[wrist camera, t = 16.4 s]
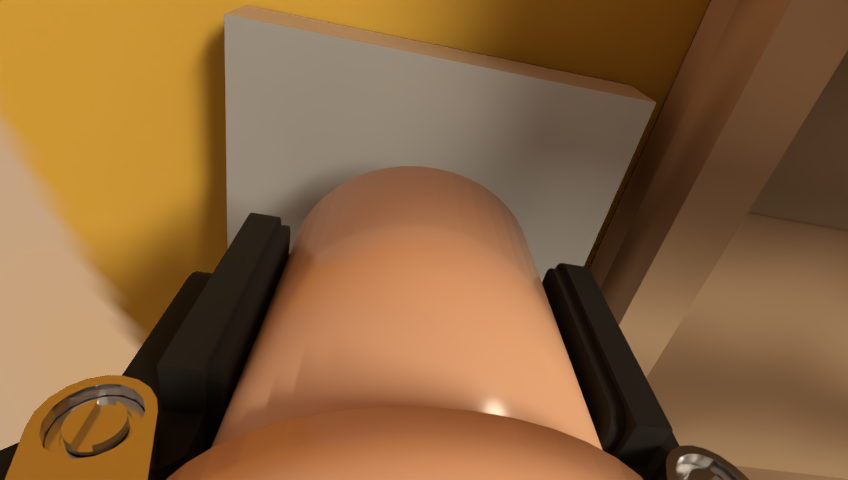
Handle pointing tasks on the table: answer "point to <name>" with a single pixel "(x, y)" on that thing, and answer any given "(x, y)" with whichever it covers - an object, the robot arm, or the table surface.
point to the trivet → (419, 126)
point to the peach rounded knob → (408, 350)
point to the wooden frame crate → (745, 242)
